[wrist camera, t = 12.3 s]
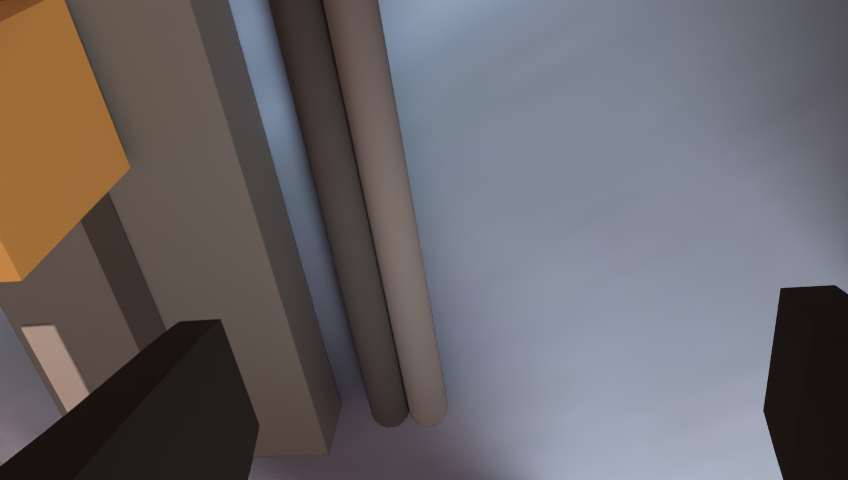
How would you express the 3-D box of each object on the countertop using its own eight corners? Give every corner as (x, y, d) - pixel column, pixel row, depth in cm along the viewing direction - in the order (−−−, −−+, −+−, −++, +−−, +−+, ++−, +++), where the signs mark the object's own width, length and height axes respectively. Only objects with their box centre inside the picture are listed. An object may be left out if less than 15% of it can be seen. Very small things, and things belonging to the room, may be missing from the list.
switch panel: (341, 406, 24) (327, 456, 22) (115, 414, 25) (86, 462, 23) (189, -141, 15) (148, -130, 14) (-139, -88, 17) (-214, -72, 15)
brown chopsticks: (450, 405, 23) (448, 434, 22) (377, 407, 24) (371, 436, 23) (353, -173, 15) (342, -169, 14) (241, -155, 15) (222, -150, 14)
